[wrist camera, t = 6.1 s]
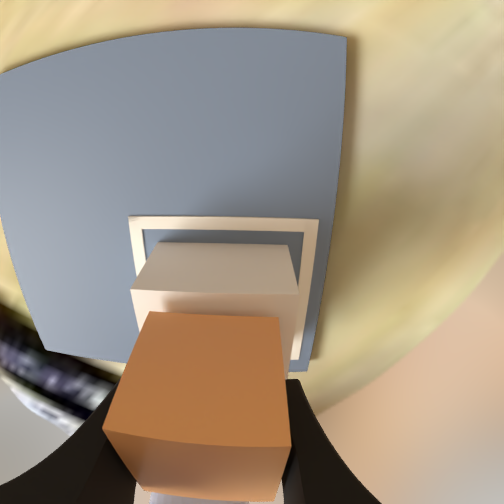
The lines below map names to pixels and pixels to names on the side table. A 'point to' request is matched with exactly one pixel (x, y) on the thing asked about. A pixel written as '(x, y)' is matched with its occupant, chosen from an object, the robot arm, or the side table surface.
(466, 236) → the side table surface
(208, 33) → the board
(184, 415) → the orange block
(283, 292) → the base block
